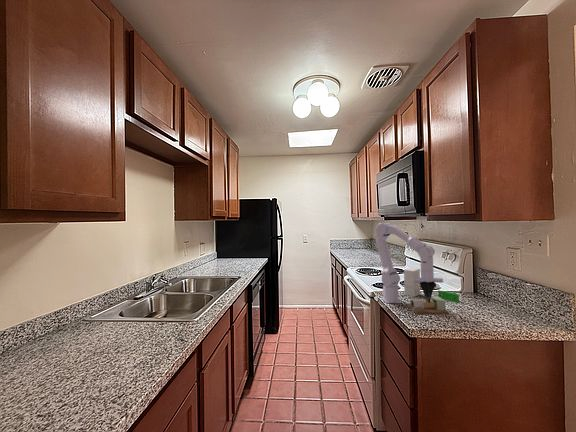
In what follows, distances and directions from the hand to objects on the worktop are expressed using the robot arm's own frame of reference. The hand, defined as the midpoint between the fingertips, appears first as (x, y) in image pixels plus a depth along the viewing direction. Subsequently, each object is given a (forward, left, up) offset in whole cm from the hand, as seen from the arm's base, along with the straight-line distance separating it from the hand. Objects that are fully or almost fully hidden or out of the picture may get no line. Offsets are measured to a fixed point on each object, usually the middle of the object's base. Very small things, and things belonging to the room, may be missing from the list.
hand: (427, 297), depth 138 cm
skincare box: (-28, +4, -7) cm, 29 cm away
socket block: (0, +5, -5) cm, 7 cm away
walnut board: (0, -1, -6) cm, 6 cm away
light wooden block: (0, -1, -5) cm, 5 cm away
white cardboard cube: (0, -5, -5) cm, 8 cm away
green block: (-16, +19, -7) cm, 26 cm away
